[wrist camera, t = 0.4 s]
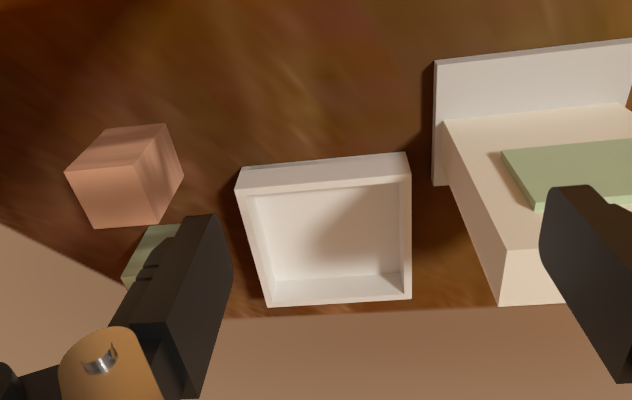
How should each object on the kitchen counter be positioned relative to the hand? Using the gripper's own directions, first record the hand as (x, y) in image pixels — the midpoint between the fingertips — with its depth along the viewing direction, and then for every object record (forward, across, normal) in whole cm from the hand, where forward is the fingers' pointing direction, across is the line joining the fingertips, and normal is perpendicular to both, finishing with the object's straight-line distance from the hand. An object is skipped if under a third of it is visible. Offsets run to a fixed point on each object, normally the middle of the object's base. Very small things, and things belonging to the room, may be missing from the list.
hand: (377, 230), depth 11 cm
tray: (+20, +3, +14) cm, 25 cm away
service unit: (+20, -11, +6) cm, 23 cm away
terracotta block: (+20, +16, +6) cm, 26 cm away
